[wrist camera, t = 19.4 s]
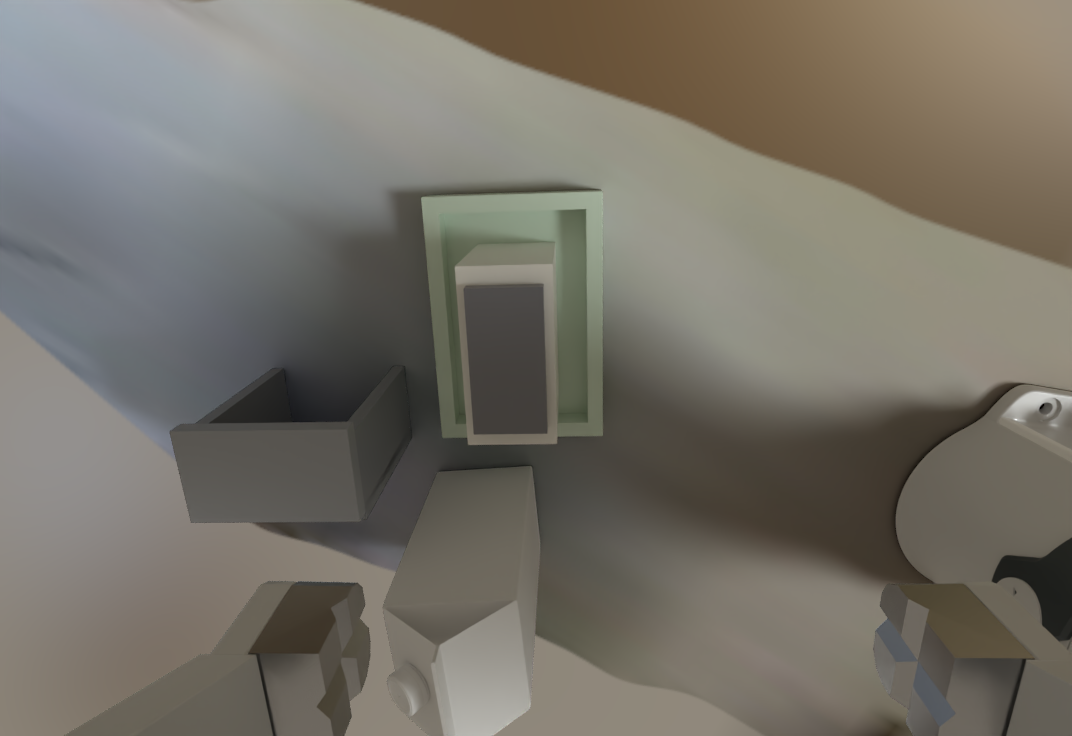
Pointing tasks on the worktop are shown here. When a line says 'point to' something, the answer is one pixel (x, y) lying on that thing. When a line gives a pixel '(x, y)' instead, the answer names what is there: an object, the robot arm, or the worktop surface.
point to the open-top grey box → (291, 456)
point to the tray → (578, 283)
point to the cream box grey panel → (509, 343)
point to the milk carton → (467, 604)
